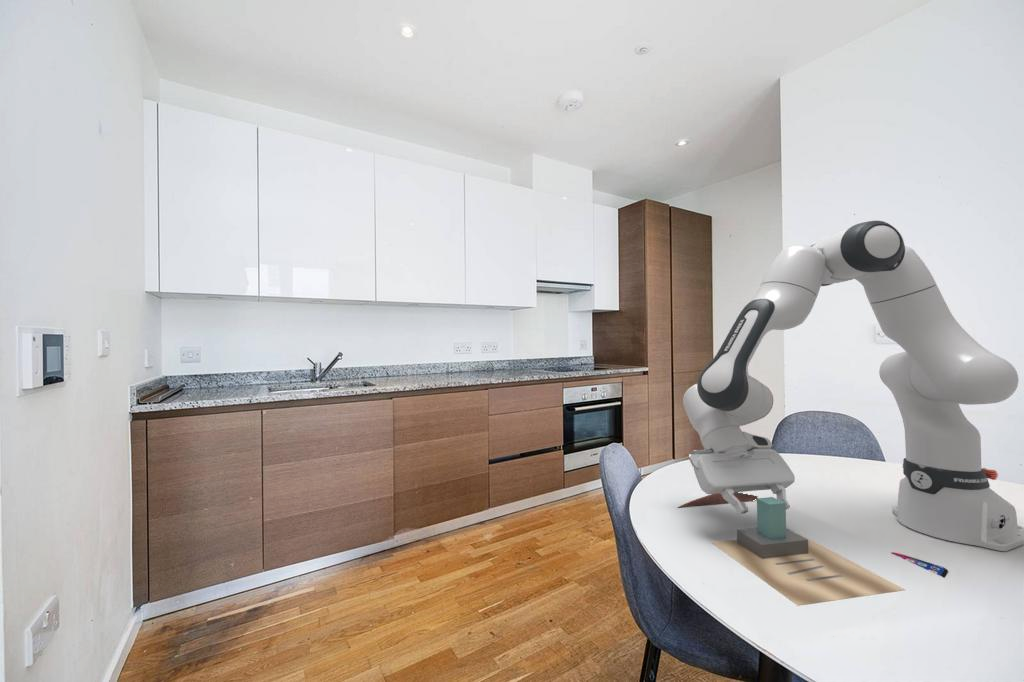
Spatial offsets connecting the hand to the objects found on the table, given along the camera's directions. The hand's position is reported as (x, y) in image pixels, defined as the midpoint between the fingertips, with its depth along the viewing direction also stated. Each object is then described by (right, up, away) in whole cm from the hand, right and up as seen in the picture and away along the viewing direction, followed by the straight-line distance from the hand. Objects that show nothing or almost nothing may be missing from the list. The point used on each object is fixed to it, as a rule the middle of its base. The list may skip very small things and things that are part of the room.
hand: (764, 511), depth 76 cm
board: (+1, -8, -7) cm, 11 cm away
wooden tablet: (+3, -9, +22) cm, 24 cm away
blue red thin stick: (+20, -8, -8) cm, 23 cm away
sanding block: (0, -6, -2) cm, 7 cm away
